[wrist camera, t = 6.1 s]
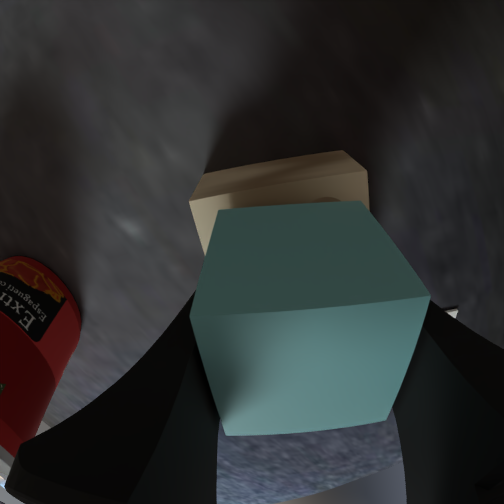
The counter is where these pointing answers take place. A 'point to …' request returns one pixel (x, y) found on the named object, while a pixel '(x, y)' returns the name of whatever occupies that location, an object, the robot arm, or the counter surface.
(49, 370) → the canned food
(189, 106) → the counter surface
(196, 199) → the oak base brick
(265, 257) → the teal brick
